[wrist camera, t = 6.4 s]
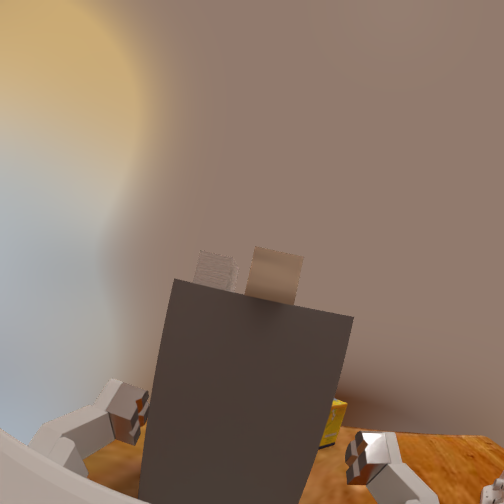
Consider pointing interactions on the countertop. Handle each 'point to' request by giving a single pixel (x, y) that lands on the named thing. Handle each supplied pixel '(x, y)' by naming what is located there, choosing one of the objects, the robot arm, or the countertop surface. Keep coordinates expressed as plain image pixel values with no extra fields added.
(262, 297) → the long maple bar
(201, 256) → the pale wood bar
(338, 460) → the countertop surface
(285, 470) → the charcoal stand
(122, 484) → the countertop surface
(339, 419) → the supplement box
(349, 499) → the countertop surface
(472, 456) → the countertop surface
